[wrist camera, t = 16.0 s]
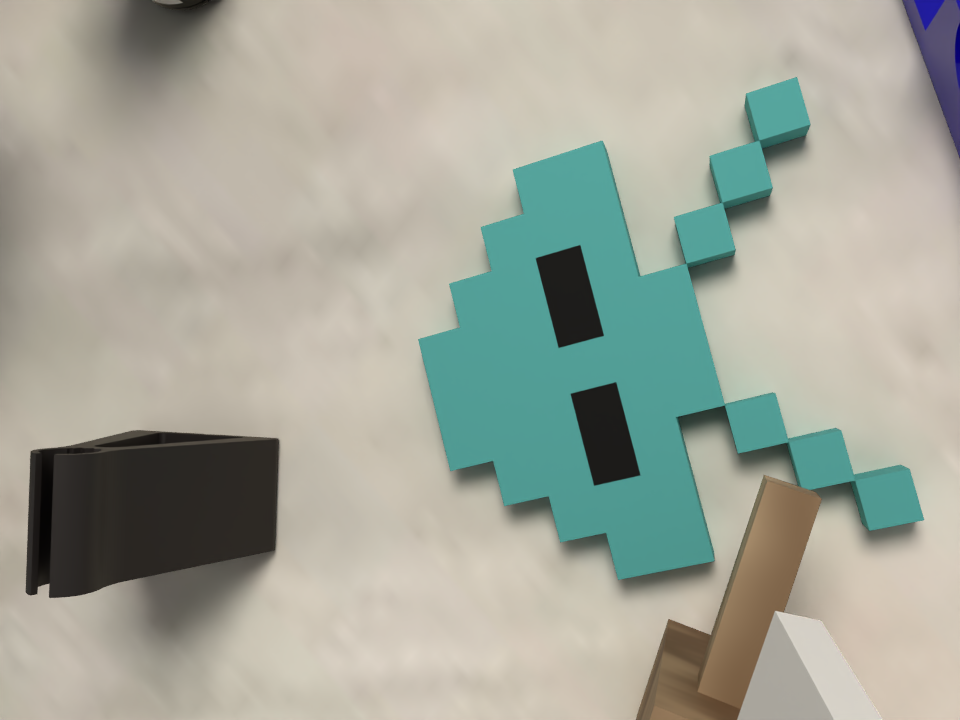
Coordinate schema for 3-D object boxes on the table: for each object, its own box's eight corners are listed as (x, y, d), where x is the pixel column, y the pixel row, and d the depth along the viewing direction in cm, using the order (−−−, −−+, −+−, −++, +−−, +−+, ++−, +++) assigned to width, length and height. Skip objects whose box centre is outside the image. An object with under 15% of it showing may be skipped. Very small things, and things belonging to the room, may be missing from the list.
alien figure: (792, 92, 40) (402, 218, 45) (797, 77, 38) (386, 210, 43) (912, 512, 39) (494, 594, 44) (924, 520, 36) (483, 606, 41)
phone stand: (281, 438, 46) (138, 460, 35) (277, 549, 46) (132, 609, 35) (137, 429, 49) (-42, 446, 37) (133, 535, 49) (-48, 585, 37)
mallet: (633, 726, 41) (607, 848, 31) (724, 449, 40) (729, 477, 30) (737, 770, 40) (747, 913, 29) (833, 485, 39) (879, 527, 28)
